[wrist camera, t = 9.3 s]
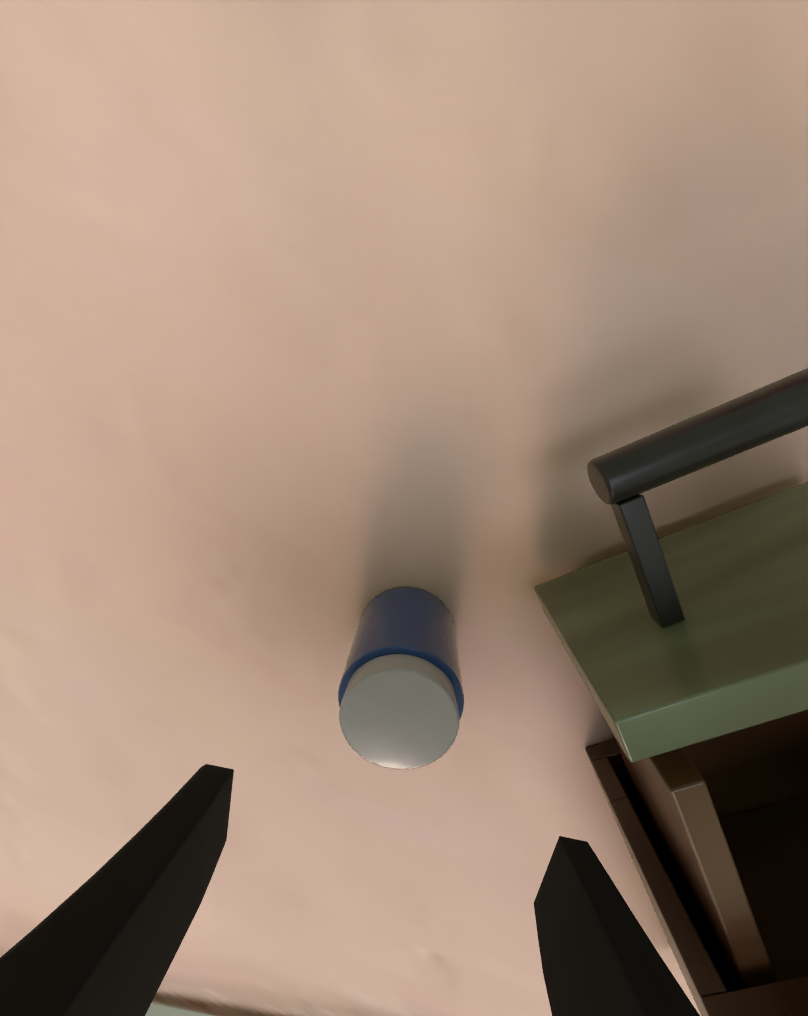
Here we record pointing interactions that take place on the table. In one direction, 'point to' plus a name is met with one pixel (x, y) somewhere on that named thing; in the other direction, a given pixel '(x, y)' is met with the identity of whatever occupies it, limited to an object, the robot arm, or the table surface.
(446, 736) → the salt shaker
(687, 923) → the cabinet
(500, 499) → the table surface
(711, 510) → the table surface
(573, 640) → the drawer
